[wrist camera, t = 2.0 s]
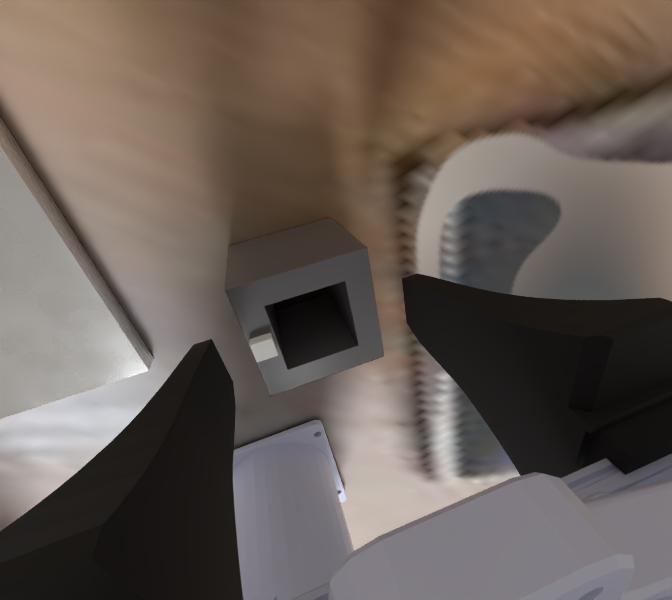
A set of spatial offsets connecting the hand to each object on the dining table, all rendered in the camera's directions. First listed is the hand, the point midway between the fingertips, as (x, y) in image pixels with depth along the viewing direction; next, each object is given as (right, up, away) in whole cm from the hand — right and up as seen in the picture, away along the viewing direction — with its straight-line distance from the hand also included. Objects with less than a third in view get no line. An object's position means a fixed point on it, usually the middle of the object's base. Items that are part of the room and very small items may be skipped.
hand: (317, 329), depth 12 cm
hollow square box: (-1, +2, +5) cm, 5 cm away
